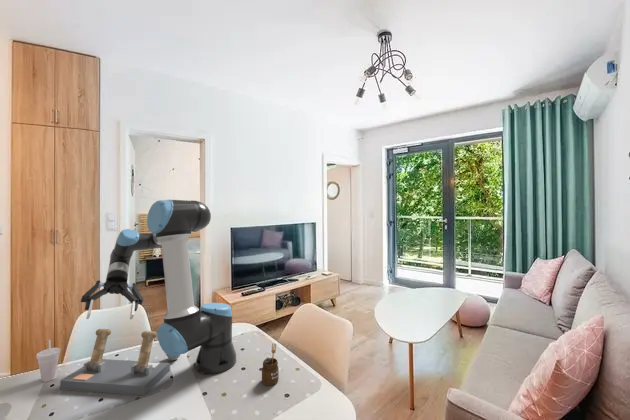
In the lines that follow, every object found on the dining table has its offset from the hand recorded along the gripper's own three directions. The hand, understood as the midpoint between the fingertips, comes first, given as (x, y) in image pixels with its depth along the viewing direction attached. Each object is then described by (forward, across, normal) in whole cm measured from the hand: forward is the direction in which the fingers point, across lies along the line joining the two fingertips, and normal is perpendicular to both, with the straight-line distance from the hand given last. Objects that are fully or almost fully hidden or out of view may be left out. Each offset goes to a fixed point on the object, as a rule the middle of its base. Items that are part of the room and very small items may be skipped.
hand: (110, 316), depth 106 cm
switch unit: (+17, -7, -12) cm, 22 cm away
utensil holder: (+39, -48, +15) cm, 64 cm away
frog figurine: (+12, -25, -10) cm, 30 cm away
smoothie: (+7, +12, -25) cm, 29 cm away
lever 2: (+20, -12, -4) cm, 24 cm away
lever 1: (+12, +1, -14) cm, 18 cm away
